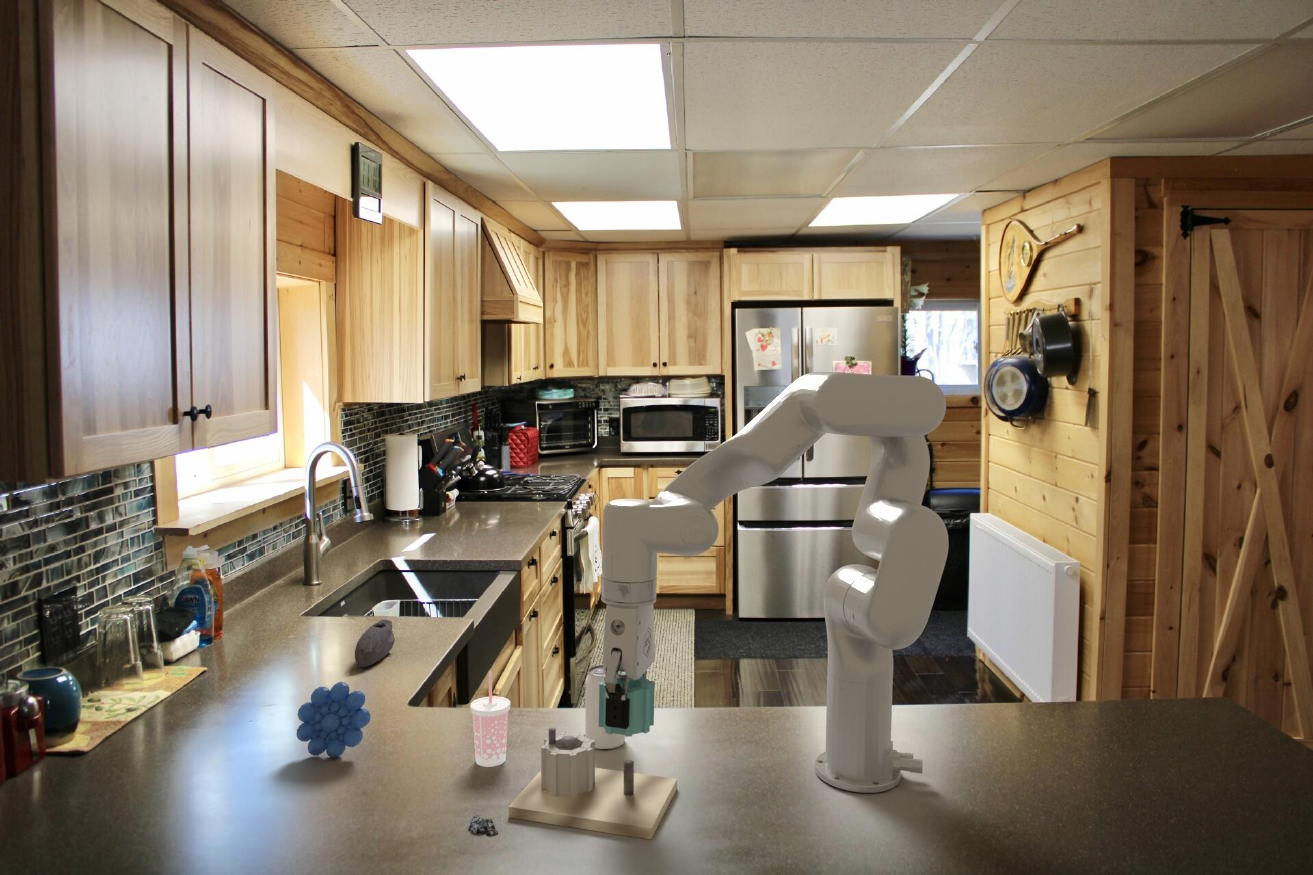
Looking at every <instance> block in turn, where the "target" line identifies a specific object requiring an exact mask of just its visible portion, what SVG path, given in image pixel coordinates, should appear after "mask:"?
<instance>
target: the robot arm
mask: <svg viewBox="0 0 1313 875" xmlns="http://www.w3.org/2000/svg"><path fill="white" fill-rule="evenodd" d="M946 411H947V402H946V397H945V394H944V392H943V390H942V389H941V387H940V386H939V385H938V384H937V383H936V382H935V381H933V380H932V379H930V378H927V377H925V376H922V375H892V374H891V375H890V374H886V375H885V374H868V373H854V372H843V371H813V372H809V373H805V374H803V375H802V376H800V377H798V378H796V379H795V380H794V381H793V382H792V383H790V384H789V385H788V386H787V387H786V388H785V389H783V391H782V392H781V393H780V394H778V396H776V397H775V398H774V399H773V400H772V401H771V402H770V403H769V404H767V406H766V407H764V408H763V410H761V411H760V412H759V413H758V414H757V415H755V417H753V419H752V420H751V421H749V422H748V423H747V424H746V425H744V427H742V429H741V430H739V431H738V432H737V433H736V434H735V435H733V436H731V437H730V438H729V439H727V440H725V441H724V442H722V443H721V444H719V445H718V446H716V447H715V448H714V449H712V450H710V451H709V452H707V453H705V454H704V455H702V456H700V457H699V458H698V459H697V460H695V461H694V462H693V463H691V464H690V465H688V467H686V468H685V469H684V470H683V471H681V472H680V473H679V474H678V475H677V476H676V477H675V478H674V479H672V480H671V481H670V483H668V484H667V485H666V486H665V487H664V488H663V489H662V490H661V491H660V492H659V493H658V494H657V495H656V496H655V498H654V499H653V500H652V501H650V500H647V499H639V498H618V499H613V500H609V501H608V502H607V503H606V504H605V506H604V508H603V512H602V513H603V515H602V553H601V554H602V556H601V559H602V561H601V565H602V566H601V598H600V599H601V602H603V603H604V604H606V608H605V609H606V610H605V615H604V616H605V617H604V627H603V628H604V629H603V630H604V631H603V646H602V665H603V672H604V674H605V679H604V681H605V685H606V686H605V690H606V694H605V698H606V713H605V724H606V726H608V727H614V728H622V729H627V728H628V727H629V712H630V699H628V698H627V696H628V689H629V683H630V678H632V680H637V679H639V678H640V677H641V676H642V675H644V676H647V674H648V669H649V668H650V667H651V665H652V664H653V663H654V661H655V656H656V644H655V642H656V641H655V640H656V639H655V632H656V631H655V612H654V611H655V610H654V604H655V603H657V587H658V586H657V580H658V579H657V578H658V577H657V576H658V575H657V574H658V573H657V571H658V554H666V555H675V556H683V557H692V556H693V557H694V556H699V555H701V554H704V553H705V552H707V551H709V550H710V549H711V548H712V547H713V546H714V545H715V543H716V541H717V539H718V537H719V532H720V531H719V530H720V529H719V521H718V519H717V517H716V515H715V514H714V512H713V511H712V510H714V509H715V508H716V507H717V506H718V505H719V504H721V503H722V502H723V501H725V500H727V499H728V498H730V497H732V496H733V495H736V494H737V493H739V492H742V491H745V490H747V489H752V488H755V487H759V486H763V485H765V484H769V483H770V482H773V481H775V480H777V479H778V478H779V477H780V476H782V475H783V474H785V472H786V471H787V470H788V469H789V468H791V466H792V465H793V464H794V463H796V462H797V461H798V460H799V458H801V457H802V456H803V455H804V454H805V453H806V452H807V451H808V450H809V449H810V448H811V447H812V446H813V445H815V444H816V443H817V442H818V441H819V440H820V439H821V438H822V437H823V436H825V434H831V435H840V436H841V435H842V436H854V437H867V439H868V442H869V446H870V463H869V468H868V472H867V477H866V479H865V484H864V486H863V490H862V493H861V497H860V500H859V502H858V506H857V510H856V512H855V516H854V519H853V523H852V528H851V539H852V542H853V543H854V546H855V547H856V548H857V549H858V551H860V552H861V553H862V554H864V555H865V556H867V557H869V558H872V559H873V560H876V561H878V562H879V564H878V567H877V569H875V568H873V567H871V566H869V565H864V564H857V563H853V564H852V563H851V564H847V565H843V566H841V567H840V568H838V569H836V570H835V571H834V572H833V573H832V574H831V575H829V578H828V580H827V582H826V583H825V586H824V591H823V602H822V603H823V612H824V619H825V627H826V637H827V669H826V670H827V671H826V677H827V678H826V713H825V714H826V715H825V716H826V719H825V726H826V727H825V751H824V752H822V753H820V754H819V755H818V756H817V757H816V758H815V760H814V772H815V773H816V775H817V776H818V778H820V780H822V781H824V782H825V783H826V784H828V785H830V786H832V787H835V788H838V789H840V790H845V791H848V792H852V793H853V792H854V793H863V794H866V793H868V794H869V793H870V794H871V793H872V794H873V793H881V792H885V791H889V790H891V789H894V788H895V787H897V785H898V784H899V783H900V782H901V779H902V778H901V777H902V776H901V775H902V774H901V771H902V772H903V771H904V772H910V773H912V774H913V773H914V774H923V766H924V764H923V763H924V762H923V759H919V758H914V753H910V752H899V751H898V749H894V740H892V716H893V715H892V714H893V685H894V683H893V678H894V657H893V656H894V654H893V651H894V650H902V649H905V648H908V647H909V646H911V645H912V644H914V643H915V642H916V641H917V640H918V639H919V637H920V636H921V635H922V634H923V632H924V630H925V628H926V626H927V623H928V621H929V618H930V615H931V611H932V609H933V605H934V602H935V598H936V597H937V596H936V595H937V592H938V589H939V586H940V582H941V580H942V576H943V573H944V571H945V570H944V569H945V566H946V562H947V558H948V553H949V547H950V546H949V534H948V529H947V527H946V524H945V522H944V520H943V519H942V518H941V517H940V515H939V514H937V512H935V511H934V510H932V509H930V508H929V507H928V506H924V505H922V503H923V499H924V495H925V491H926V487H927V483H928V480H929V474H930V467H931V458H930V450H929V446H928V443H927V440H926V437H925V436H926V435H929V434H930V433H932V432H933V431H934V430H936V429H937V428H938V427H939V426H940V425H941V423H942V422H943V420H944V418H945V416H946ZM780 478H781V477H780ZM619 671H622V673H626V675H618V672H619ZM646 679H648V678H646ZM617 680H619V681H624V682H623V688H621V686H620V684H617V682H618V681H617Z"/></svg>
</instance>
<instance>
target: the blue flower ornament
mask: <svg viewBox="0 0 1313 875" xmlns="http://www.w3.org/2000/svg"><path fill="white" fill-rule="evenodd" d="M365 703H366V695H365V692H363V691H361V690H354V691H351V693H350V686H349V684H348V683H346V682H345V681H344V682H343V681H339V682H337V683H335V684H333V685H332V687H331V688H330V689H329V688H328V687H326V686H318V687H317V688H315V689H314V690H313V691H312V693H311V695H310V701H307V702H305V703H303V704H302V705H301V706H300V707H299V708H298V710H297V718H298V721H300V722H302V723H301V724H299V726H298V727H297V729H296V737H297V739H298V740H299V741H300V742H304V743H305V742H308V741H309V742H308V743H307V751H308V754H310V755H312V756H320V755H322V754H323V753H325V752H326V755H327V756H328V757H330V758H333V759H336V758H338V757H340V756H341V755H343V754H344V752H345V751H346V747H348V748H354V747H356V746H358V745H359V744H360V743H361V742H362V741H363V737H364V733H363V731H362V730H363V728H364V727H366V726H367V725H368V724H369V723H370V722H371V713H370V710H368V709H367V708H363V706H364V705H365Z"/></svg>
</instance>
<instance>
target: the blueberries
mask: <svg viewBox="0 0 1313 875" xmlns="http://www.w3.org/2000/svg"><path fill="white" fill-rule="evenodd" d="M501 820H502V821H503V820H504V817H502V818H501ZM467 831H469V833H470V834H472V835H478V836H483V835H485V836H486V837H492V836H496V835H497V836H498V834H499V831H498V830H497V829H496V825H495V824H494V821H493V819H492V818H487V819H485V818H481V817H480V816H479V815H476V814H475V815H474V816H472V818H471V820H470V822H469V823H468V829H467Z"/></svg>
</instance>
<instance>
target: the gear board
mask: <svg viewBox="0 0 1313 875" xmlns="http://www.w3.org/2000/svg"><path fill="white" fill-rule="evenodd" d="M634 762H635V760H632V759H625V760H623V770H614V769H607V768H601V767H595V783H593V790H591V791H590V792H583V793H580V794H578V795H577V797H573V798H570V796H559V795H558V796H556V797H554V796H550V792H549V791H548V790H546V789H545V790H542V788H541V769H540V770H539V772H538V773H537V774H536V775H535V776H534V777H533V778H532V779H531V781H529V783H528V784H527V785H526V786H525V787H524V788H523V790H522V791H521V792H520V793H519V794H518V795H517V796H516V798H515V799H513V801H512V802H511V803H510V804H509V806H508V807H507V808H508V818H509V819H517V820H523V821H530V822H536V823H542V824H549V825H554V826H562V827H568V828H573V829H580V830H588V831H592V832H593V831H594V832H600V833H605V834H606V833H607V834H613V835H619V836H625V837H631V838H638V839H645V840H652V839H653V836H654V835H655V833H656V831H657V830H658V827H659V825H660V823H661V822H662V819H663V817H664V815H665V813H666V811H667V809H668V807H669V806H670V804H671V802H672V800H673V798H674V796H675V793H676V792H677V790H678V778H673V777H667V776H659V775H651V774H645V773H644V774H643V773H636V772H634V771H635V770H634V769H635V763H634Z"/></svg>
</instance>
